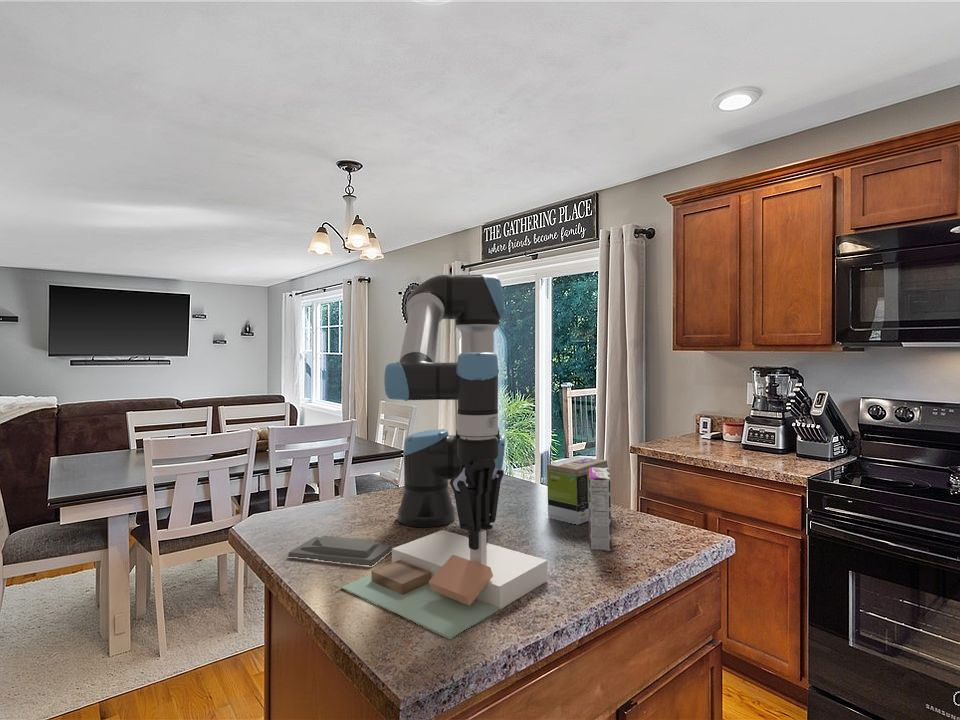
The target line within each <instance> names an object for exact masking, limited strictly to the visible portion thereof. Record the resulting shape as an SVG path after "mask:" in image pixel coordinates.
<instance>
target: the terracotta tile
mask: <svg viewBox="0 0 960 720" xmlns="http://www.w3.org/2000/svg"><path fill="white" fill-rule="evenodd" d="M492 577H493V574H492V571H491V568H490V567H488V566H485V565H482V564H479V563H476V562H473V561H470V560H467V559H464V558H461V557H458V556H455V555H452V556H451V557H450V558H449V559H448V560H447V562H446V563H445V564H444V565H443V566H442V567H441V568H440V569H439V571H438V572H437V573H436V574H435V575H434V576H433V577H432V578H431V579H430V581H429V584H430V587H431V589H432V590H433V591H435V592H437V593H440V594H442V595H445V596H447V597H450V598H452V599H455V600H457V601H459V602H462V603H464V604H467V605H469V606H470V605H471V603H472V602H473V601H474V600H475V598H476V597H477V596H478V595H479V593H480V592H481V591H482V589H483V588H484V587H485V586H486V584H487V583H488V582H489V581H490V579H491V578H492Z"/></svg>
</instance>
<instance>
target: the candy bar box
mask: <svg viewBox="0 0 960 720" xmlns="http://www.w3.org/2000/svg"><path fill="white" fill-rule="evenodd" d="M610 473H611V472H610V468H609V467H608V468H595V467H591V468H589V521H588V532H589V533H588V536H589V539H588V540H589V549H590V550H591V551H599V550H602V551H603V552H611V551H612V511H611V510H612V499H611V498H612V497H611V495H612V494H611V493H612V492H611V474H610ZM602 551H601V552H602Z"/></svg>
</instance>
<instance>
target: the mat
mask: <svg viewBox="0 0 960 720" xmlns="http://www.w3.org/2000/svg"><path fill="white" fill-rule="evenodd" d="M341 588H343V589H345V590H347V591H349V592H351V593H353V594H355V595H357V596H359V597H362V598H363V599H362V598H361V599H362V600H364V599H366V600H368V601H370V602H373V603H375V604H377V605H379V606H381V607H384V608H386V609H388V610H391V611H392V612H395V613H397V614H399V615H401V616H403V617H405V618H407V619H409V620H411V621H413V622H415V623H416V624H415V623H414V624H415V625H417V624H418V626H420V625H421V626H420V627H422V626H423V627H422V628H424V629H426V630H428V631H430V632H433V633H435V634H437V635H439V636H441V637H443V638H445V639H448V640H450V639H451V640H452V639H454V638H455V636H456V635H457V636H459V635H460V634H462V633H464V632H465V631H467V630H469V629H470V628H472V627H474V626H476V625H477V624H478V623H480V622H482V621H483V620H485V619H487V618H488V617H491V616H492V615H493V614H495V613H497V612H498V611H499V609H498V608H496V607H493V606H491V605H488V604H485V603H483V602H480V601H478V600H474V601H473V602H472V603H471V605H470V606H469V605H467V604H464V603H462V602H459V601H457V600H455V599H452V598H450V597H447V596H445V595H442V594H440V593H437V592H435V591H433V590H432V589H431V587H430V584H429V583H428V584H426V585H424V586H422V587H419V588H417V589H415V590H413V591H410V592H408V593H406V594H404V595H401V594H399V593H397V592H395V591H392V590H390V589H388V588H386V587H383V586H381V585H379V584H377V583H374V582H372V573H371V574H369V575H367V576H363V577H362V578H359V579H356V580H354V581H351V582H348V583H347V584H343V585H342V586H340V589H341ZM347 591H346V592H347ZM349 592H348V593H349ZM351 593H350V594H351ZM353 594H352V595H353ZM355 595H354V596H355ZM357 596H356V597H357ZM359 597H358V598H359ZM366 600H365V601H366ZM368 601H367V602H368ZM370 602H369V603H370ZM375 604H374V605H375ZM377 605H376V606H377ZM379 606H378V607H379ZM381 607H380V608H381ZM392 612H391V613H392ZM405 618H404V619H405ZM407 619H406V620H407ZM409 620H408V621H409ZM411 621H410V622H411ZM413 622H412V623H413ZM473 625H474V626H473ZM471 626H472V627H471ZM468 628H469V629H468ZM466 629H467V630H466ZM464 630H465V631H464ZM463 631H464V632H463ZM461 632H462V633H461ZM459 633H460V634H459ZM458 634H459V635H458ZM457 636H456V637H457ZM453 637H454V638H453Z"/></svg>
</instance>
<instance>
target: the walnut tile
mask: <svg viewBox="0 0 960 720" xmlns="http://www.w3.org/2000/svg"><path fill="white" fill-rule="evenodd" d="M371 574H372V582H374V583H377V584H379V585H381V586H383V587H386V588H388V589H390V590H392V591H395V592H397V593H399V594H401V595H404V594H406V593H408V592H410V591H413V590H415V589H417V588H419V587H422V586H424V585H426V584H428V583H429V581H430V579H431V572H429V571H427V570H424V569H421V568H419V567H416V566H414V565H411V564H408V563H406V562H403V561H401V560H399V561H396V562H393V563H392V562H390V563H388V564H386V565H383V566H381V567H379V568H376V569H372V570H371Z"/></svg>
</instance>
